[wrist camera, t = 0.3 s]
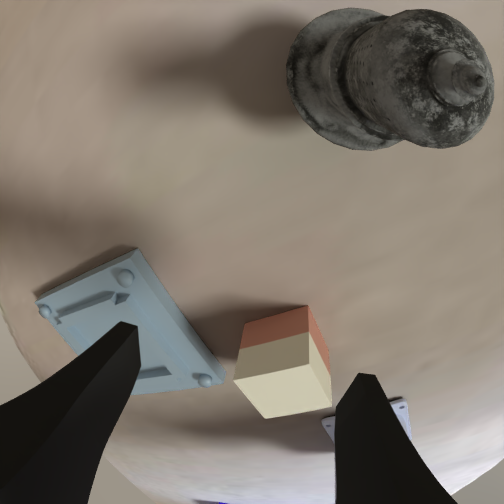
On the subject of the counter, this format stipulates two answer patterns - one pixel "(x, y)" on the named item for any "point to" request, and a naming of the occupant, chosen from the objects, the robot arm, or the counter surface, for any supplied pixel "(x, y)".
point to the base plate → (137, 313)
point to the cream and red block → (284, 364)
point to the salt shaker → (390, 79)
